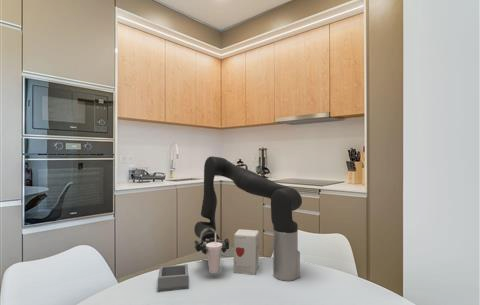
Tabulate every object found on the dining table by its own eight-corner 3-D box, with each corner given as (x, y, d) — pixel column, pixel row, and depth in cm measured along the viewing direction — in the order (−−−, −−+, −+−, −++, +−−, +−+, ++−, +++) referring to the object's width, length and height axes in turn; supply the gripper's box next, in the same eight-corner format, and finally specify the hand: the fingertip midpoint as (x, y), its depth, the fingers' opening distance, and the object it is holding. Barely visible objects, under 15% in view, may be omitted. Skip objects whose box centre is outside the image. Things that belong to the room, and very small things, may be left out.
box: (187, 276, 98) (187, 264, 98) (188, 288, 88) (188, 275, 88) (159, 279, 95) (159, 266, 96) (157, 292, 86) (158, 278, 86)
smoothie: (219, 274, 94) (219, 235, 94) (203, 273, 95) (203, 234, 96) (224, 267, 100) (224, 231, 101) (208, 266, 101) (208, 230, 102)
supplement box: (232, 273, 101) (233, 234, 102) (238, 264, 110) (238, 228, 111) (255, 275, 99) (256, 235, 100) (259, 266, 108) (259, 230, 109)
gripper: (192, 230, 110) (195, 241, 94) (225, 228, 114) (234, 239, 98) (192, 248, 110) (195, 263, 94) (225, 246, 113) (234, 259, 97)
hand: (215, 250), depth 96 cm, fingers closed on smoothie, 6 cm apart
